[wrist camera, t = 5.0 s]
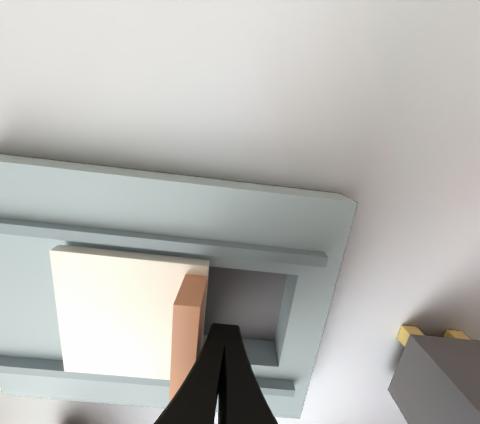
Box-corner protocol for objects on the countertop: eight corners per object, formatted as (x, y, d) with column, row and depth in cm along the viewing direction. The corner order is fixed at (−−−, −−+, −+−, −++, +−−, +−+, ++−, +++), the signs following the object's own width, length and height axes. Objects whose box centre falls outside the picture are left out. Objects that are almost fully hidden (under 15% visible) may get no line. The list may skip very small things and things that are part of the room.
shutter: (199, 371, 13) (190, 428, 11) (72, 361, 13) (30, 415, 10) (209, 260, 11) (201, 295, 9) (59, 244, 11) (3, 276, 8)
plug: (441, 380, 17) (549, 507, 11) (379, 374, 16) (454, 501, 11) (466, 328, 15) (603, 441, 10) (399, 321, 15) (497, 432, 9)
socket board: (292, 386, 17) (302, 429, 14) (30, 364, 16) (-8, 406, 13) (339, 193, 13) (364, 206, 10) (-7, 153, 12) (-72, 156, 10)
